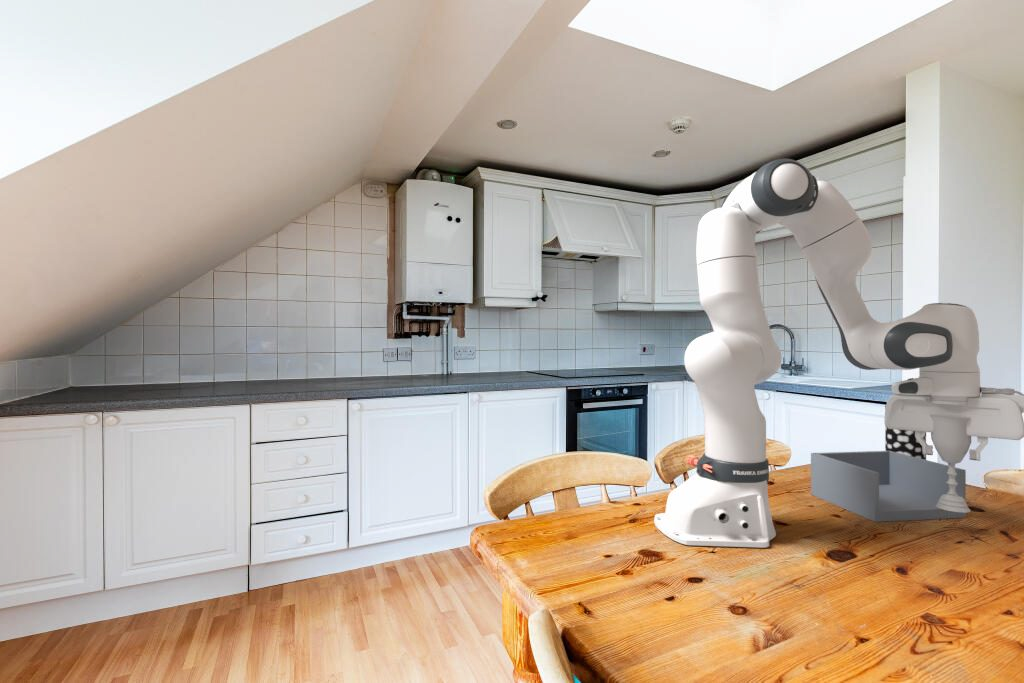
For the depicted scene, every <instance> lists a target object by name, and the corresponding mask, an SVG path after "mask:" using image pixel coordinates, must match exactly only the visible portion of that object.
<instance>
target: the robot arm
mask: <svg viewBox="0 0 1024 683" xmlns="http://www.w3.org/2000/svg"><path fill="white" fill-rule="evenodd" d="M777 224H779V225H781V226H783V227H784V228H786V229H787V230H788V231H789V232H790V233H791V234H792V235H793V237H794V239H795V241H796V242H797V244H798V246H799V248H800V249H801V251H802V253H803V254H804V256H805V258H806V259H807V262H808V263H809V265H810V268H811V269H812V271H813V274H814V279H815V281H816V284H817V288H818V289H819V291H820V294H821V296H822V298H823V300H824V302H825V304H826V306H827V308H828V310H829V312H830V314H831V316H832V318H833V320H834V321H835V324H836V327H837V328H838V331H839V334H840V341H841V347H842V352H843V355H844V356H845V358H846V359H847V361H848V362H849V363H850V364H852V365H853V366H854V367H855V368H858V369H861V370H866V371H871V370H873V371H874V370H894V371H895V370H896V371H897V370H901V371H903V370H905V371H909V370H915V369H918V370H919V372H918V373H919V376H918V377H915V378H913V377H912V378H911V377H910V378H908V379H906V380H901V381H896V382H894V383H893V384H891V392H892V393H893V394H892V395H890V396H889V397H888V399H887V400H886V404H885V405H886V409H885V408H884V409H885V410H884V426H885V425H886V426H887V427H888V428H889V429H897V430H908V431H915V437H916V439H917V440H918V441H919V443H920V444H921V445H922V450H923V454H924V455H926V456H933V454H934V451H933V449H934V444H933V445H931V444H928V443H927V441H926V442H925V440H924V439H923V437H924V436H925V432H926V433H930V434H931V433H933V430H934V427H933V420H932V418H931V417H930V415H931V416H937V417H948V418H970V419H969V420H968V422H967V423H966V428H967V435H968V436H971V437H977V438H976V441H977V443H978V444H979V445H978V446H977V447H976V448H975V449H970V448H969V449H968V454H969V460H970V461H977V462H978V461H979V462H981V452H982V451H983V450H984V449H985V447H986V446H987V445H988V444H989V438H990V439H1001V440H1013V441H1020V440H1022V439H1024V417H1023V413H1024V394H1023V392H1020V391H1017V390H1015V389H1014V388H1008V387H1005V388H996V387H983V386H982V387H981V370H980V369H981V368H980V366H979V364H978V354H979V352H980V335H979V334H980V332H979V324H978V321H977V317H976V314H975V312H974V310H973V309H972V308H970V307H969V306H967V305H964V304H959V303H952V302H951V303H949V302H948V303H947V302H944V303H943V302H934V303H928V304H924V305H923V306H922V307H921V308H920V309H918V311H916V312H914V313H911V314H909V315H907V316H906V317H902V318H900V319H897V320H894V321H888V322H880V321H878V320H876V319H874V318H873V317H872V315H871V314H870V313H869V310H868V309H867V306H866V304H865V302H864V299H863V298H862V296H861V294H860V292H859V290H858V287H857V282H856V281H857V280H856V279H857V275H858V273H859V272H860V270H861V269H862V268H863V267H864V265H865V264H866V263H867V261H868V259H869V258H870V256H871V254H872V251H873V250H872V249H873V242H872V238H871V236H870V232H869V230H868V229H867V227H866V226H865V224H864V222H863V221H862V219H861V217H860V216H859V215H858V213H857V212H856V210H855V209H854V207H853V206H852V205H851V204H850V202H849V201H848V200H847V199H846V197H844V196H843V194H842V193H841V192H840V191H839V190H838V189H837V188H836V187H835V186H834V185H833V184H832V183H830V182H828V181H826V180H817V178H816V177H815V176H814V175H813V174H812V173H811V171H810V170H809V169H808V168H807V167H806V166H805V165H804V164H802V163H801V162H799V161H797V160H794V159H792V158H778V159H775V160H772V161H770V162H768V163H765V164H764V165H762V166H761V167H760V168H759V169H757V170H756V171H754V172H753V173H752V174H751V175H749V176H747V177H745V178H744V179H742V180H741V181H740V182H739V183H738V184H737V185H736V186H735V188H733V190H732V191H730V192H729V193H728V194H727V195H726V196H725V197H724V198H723V200H722V203H721V205H720V207H717V208H715V209H712V210H710V211H708V212H706V213H705V214H704V215H703V216H702V217H701V219H700V220H699V222H698V226H697V233H696V247H695V248H696V249H695V251H696V252H695V255H696V256H695V259H696V273H697V285H698V296H699V303H700V306H701V308H702V309H703V310H704V312H705V313H706V315H707V317H708V319H709V321H710V324H711V327H712V330H713V331H711V332H708V333H704V334H702V335H701V336H698V337H696V338H695V339H694V340H692V341H691V342H690V343H689V345H687V346H686V347H687V348H686V350H685V351H684V357H683V359H684V360H683V363H684V367H685V370H686V373H687V374H688V376H689V377H690V378H691V379H692V381H694V384H695V386H696V388H697V391H698V396H699V398H700V404H701V407H702V412H703V421H704V453H703V454H702V456H701V457H700V458H698V457H697V456H695V455H693V454H689V455H688V456H687V457H686V459H685V460H686V463H687V464H688V465H690V466H691V467H694V468H695V467H696V472H695V473H694V474H692V476H689V478H687V479H685V481H684V482H682V483H681V484H679V485H678V486H677V487H675V488H674V489H672V490H671V491H670V492H669V493H668V496H667V500H666V504H665V510H664V511H665V512H660V513H656V514H654V519H653V524H654V525H655V527H656V529H658V530H659V531H660V533H662V534H663V535H664V536H666V537H668V538H669V539H671V540H673V542H674V541H675V542H677V543H679V544H682V545H685V546H703V547H707V546H708V547H709V546H710V547H730V548H731V547H733V548H735V547H737V548H761V549H762V548H763V549H764V548H766V549H767V548H769V547H770V542H771V540H773V539H774V538H776V536H777V532H776V529H775V526H774V523H773V519H772V514H771V513H772V512H771V509H770V501H769V493H768V483H769V479H770V465H769V464H770V463H769V459H768V458H767V419H766V417H765V415H764V413H763V412H762V410H761V408H760V405H759V402H758V398H757V393H756V388H755V385H759V384H761V383H762V384H763V382H765V381H767V380H768V379H771V377H773V376H774V375H776V373H777V372H778V371H779V369H780V367H781V365H782V358H783V357H782V351H781V349H780V347H779V346H778V344H777V343H776V342H775V340H774V338H773V334H772V330H771V328H770V327H771V326H770V324H769V321H768V318H767V315H766V312H765V309H764V306H763V302H762V297H761V289H760V279H759V268H758V260H757V252H756V251H757V249H756V244H755V243H756V235H757V234H758V233H760V232H761V231H763V230H765V229H767V228H770V227H772V226H775V225H777Z"/></svg>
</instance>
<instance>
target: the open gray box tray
mask: <svg viewBox="0 0 1024 683" xmlns="http://www.w3.org/2000/svg"><path fill="white" fill-rule="evenodd" d="M948 469H949V466H948V464H945V463H940V462H936V461H931V460H927V459H926V460H924V459H920V458H916V457H912V456H908V455H904V454H900V453H896V452H892V451H885V450H873V451H872V450H871V451H869V450H868V451H838V452H837V451H836V452H835V451H833V452H811V453H810V494H811V495H812V496H814V497H816V498H818V499H821V500H823V501H825V502H828V503H830V504H832V505H835V506H837V507H840V508H842V509H844V510H846V511H848V512H851V513H853V514H856V515H858V516H861V517H863V518H865V519H868V520H870V521H872V522H875V523H879V522H895V521H896V522H897V521H900V522H901V521H919V520H920V521H921V520H940V519H941V520H942V519H943V520H944V519H945V520H946V519H959V518H960V519H962V518H964V519H965V518H966V516H967V515H966V514H967V512H966V513H962V512H953V511H948V510H944V509H940V508H938V507H936V504H937V503H938V500H939V499H940V497H941V496H942V495H943V494H948V492H949V485H948V484H947V483H946V482H947V481H948V480H949V476H948V474H947V472H948ZM955 471H956V473H957V475H956V477H955V480H956V482H957V483H958V485H956V488H955V491H956V493H957V494H958V496H960V497H963V498H964V500H965V502H966V500H967V498H966V494H967V493H966V491H967V490H966V480H967V478H966V476H967V475H966V473H967V472H966V471H967V470H966V469H964V468H960V467H957V466H955ZM966 503H967V502H966Z"/></svg>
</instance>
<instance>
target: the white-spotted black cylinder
mask: <svg viewBox="0 0 1024 683" xmlns="http://www.w3.org/2000/svg"><path fill="white" fill-rule="evenodd" d="M884 407H885V408H884V409H886V404H885V406H884ZM884 430H885V433H884V434H885V436H884V439H885V440H884V441H885V442H884V444H885V448H884V451H892V452H896V453H900V454H904V455H908V456H912V457H916V458H920V459H924V460H927V455H924V454H923V450H922V445H921V444H920V443H919V441H918V440H917V439H916V437H915V431H908V430H897V429H889V428H888V427H887V426H886V425H885V424H884ZM923 439H924V440H925V442H926V443H927V432H925V436H924V437H923Z"/></svg>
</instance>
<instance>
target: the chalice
mask: <svg viewBox="0 0 1024 683" xmlns="http://www.w3.org/2000/svg"><path fill="white" fill-rule="evenodd" d="M930 417H931V418H932V420H933V427H934V430H933V433H931V432H930V436H931V437H930V438H931V439H930V440H931V441H932V444H933V447H934V448H935V450H936V452H937V453H938V455H939V457H940V459H941V461H943V462H944V463H947V465H948V466H949V469H948V472H947V474H948V476H949V480H948V481H947V482H946V483H947V484H948V485H949V492H948V494H943V495H942V496H941V497H940V499H939V500H938V503H937V504H936V507H938V508H940V509H944V510H948V511H953V512H962V513H966V514H967V513H970V512H971V509H970V508H969V506H968V505H969V504H967V502H965V500H964V498H963V497H960V496H958V494H957V493H956V491H955V488H956V485H958V483H957V482H956V480H955V477H956V475H957V473H956V471H955V467H956V464H960V463H962V461H963V460H964V458H965V457H966V455H967V453H969V450H970V447H971V444H972V436H968V435H967V428H966V423H967V422H968V420H969V419H970V418H948V417H937V416H931V415H930Z"/></svg>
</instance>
